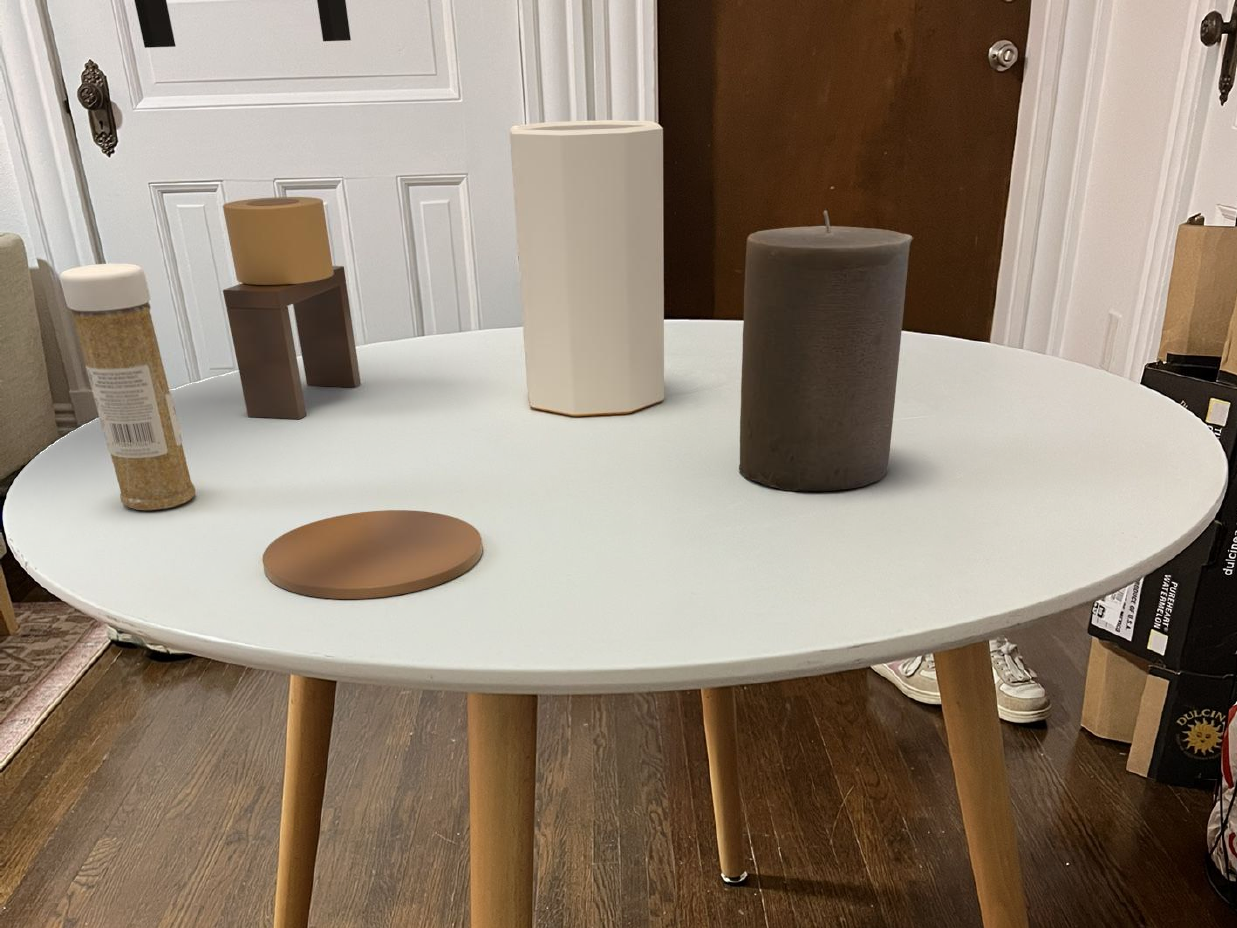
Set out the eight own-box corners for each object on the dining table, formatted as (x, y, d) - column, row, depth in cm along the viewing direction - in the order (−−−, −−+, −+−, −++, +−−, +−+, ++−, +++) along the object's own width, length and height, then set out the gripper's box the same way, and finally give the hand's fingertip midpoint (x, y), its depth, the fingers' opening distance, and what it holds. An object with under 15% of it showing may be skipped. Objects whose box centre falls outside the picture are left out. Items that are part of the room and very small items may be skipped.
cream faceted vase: (501, 394, 95) (479, 125, 84) (622, 374, 99) (615, 117, 89) (564, 425, 87) (549, 133, 76) (692, 403, 91) (694, 124, 81)
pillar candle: (752, 496, 72) (762, 224, 64) (728, 450, 81) (734, 203, 72) (907, 489, 73) (937, 218, 65) (868, 444, 81) (890, 197, 73)
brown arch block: (247, 416, 91) (222, 289, 86) (313, 382, 99) (293, 265, 94) (299, 419, 90) (277, 291, 85) (361, 384, 98) (344, 265, 93)
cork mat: (222, 589, 62) (220, 578, 62) (325, 514, 72) (323, 504, 71) (434, 607, 60) (433, 596, 59) (511, 526, 69) (510, 516, 69)
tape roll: (218, 284, 87) (203, 207, 85) (266, 268, 93) (253, 195, 90) (306, 286, 86) (294, 208, 83) (349, 270, 92) (339, 196, 89)
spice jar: (209, 491, 76) (158, 261, 68) (172, 514, 72) (113, 274, 65) (146, 487, 77) (88, 260, 69) (105, 510, 73) (40, 273, 65)
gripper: (392, -398, 69) (436, 37, 81) (30, -353, 75) (121, 48, 87) (335, -437, 63) (391, 38, 75) (-53, -385, 69) (57, 50, 81)
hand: (247, 44), depth 81 cm, fingers open, 13 cm apart
